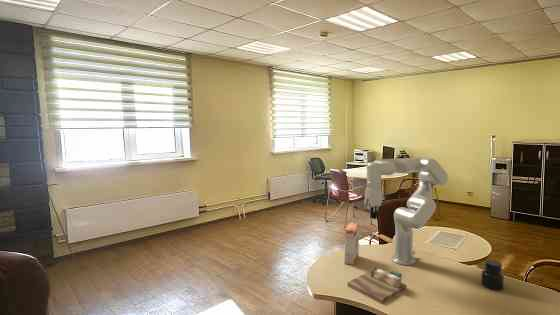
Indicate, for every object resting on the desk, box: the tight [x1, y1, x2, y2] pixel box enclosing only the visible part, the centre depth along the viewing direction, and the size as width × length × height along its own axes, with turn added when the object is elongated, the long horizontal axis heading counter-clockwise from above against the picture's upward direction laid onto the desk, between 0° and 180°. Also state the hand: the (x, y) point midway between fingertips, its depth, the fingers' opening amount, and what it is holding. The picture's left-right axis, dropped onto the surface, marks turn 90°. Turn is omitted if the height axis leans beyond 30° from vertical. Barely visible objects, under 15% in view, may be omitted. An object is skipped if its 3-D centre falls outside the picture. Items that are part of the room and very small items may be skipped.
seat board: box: [347, 269, 407, 305], centre depth 154 cm, size 20×20×7 cm
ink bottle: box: [480, 259, 505, 291], centre depth 152 cm, size 10×9×12 cm
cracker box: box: [344, 222, 360, 266], centre depth 184 cm, size 14×6×21 cm, turn 155°
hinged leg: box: [370, 266, 402, 288], centre depth 156 cm, size 16×3×4 cm, turn 38°
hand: (373, 218), depth 170 cm, fingers closed
